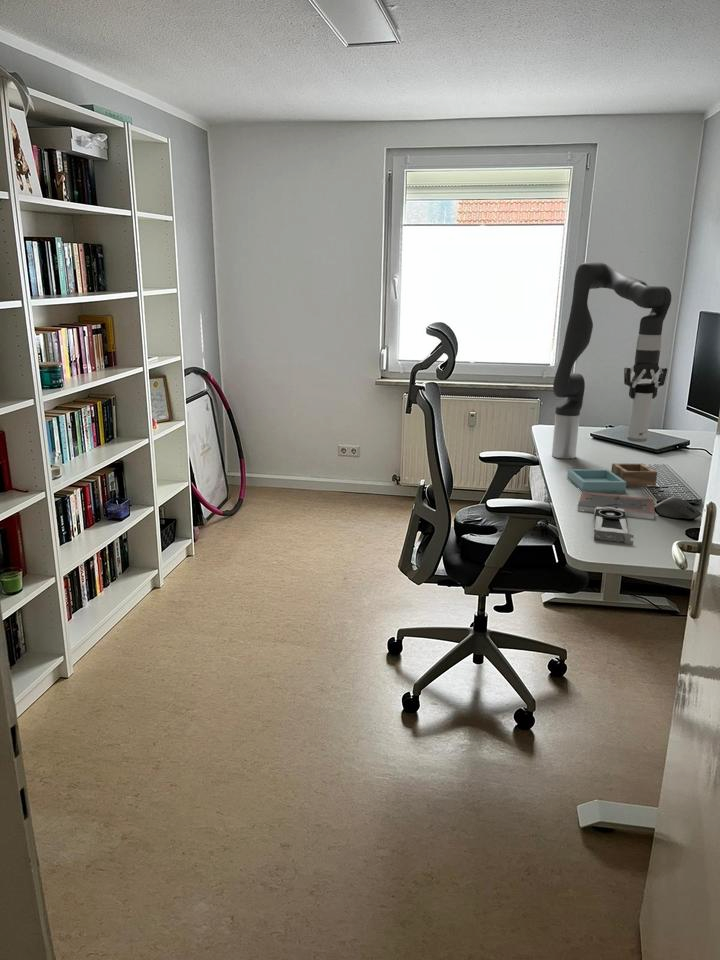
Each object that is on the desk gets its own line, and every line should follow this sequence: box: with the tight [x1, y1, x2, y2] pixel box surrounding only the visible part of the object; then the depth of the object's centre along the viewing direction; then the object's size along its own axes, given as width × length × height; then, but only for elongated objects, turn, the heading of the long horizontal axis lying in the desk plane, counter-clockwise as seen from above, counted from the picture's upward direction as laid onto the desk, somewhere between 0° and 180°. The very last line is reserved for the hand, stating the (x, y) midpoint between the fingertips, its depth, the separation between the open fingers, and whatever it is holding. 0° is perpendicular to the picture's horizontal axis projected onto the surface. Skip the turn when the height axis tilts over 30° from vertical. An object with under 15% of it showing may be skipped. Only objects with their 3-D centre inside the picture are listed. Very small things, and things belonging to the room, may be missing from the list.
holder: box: [610, 462, 658, 487], centre depth 239 cm, size 12×11×5 cm
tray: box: [566, 469, 627, 493], centre depth 234 cm, size 16×14×4 cm
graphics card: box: [593, 507, 635, 545], centre depth 193 cm, size 10×3×25 cm
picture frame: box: [576, 491, 655, 520], centre depth 211 cm, size 16×2×22 cm
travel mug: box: [627, 382, 655, 443], centre depth 233 cm, size 6×7×20 cm
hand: (642, 398), depth 232 cm, fingers closed on travel mug, 6 cm apart
